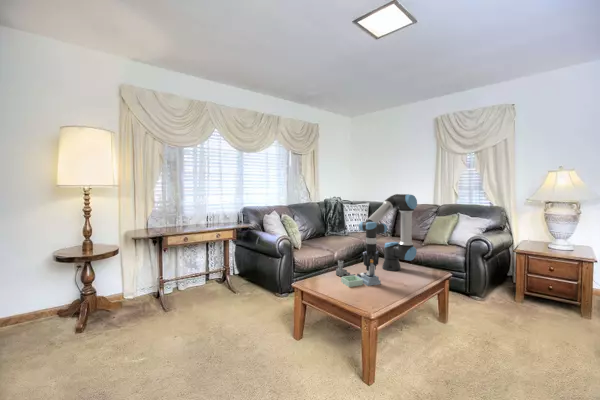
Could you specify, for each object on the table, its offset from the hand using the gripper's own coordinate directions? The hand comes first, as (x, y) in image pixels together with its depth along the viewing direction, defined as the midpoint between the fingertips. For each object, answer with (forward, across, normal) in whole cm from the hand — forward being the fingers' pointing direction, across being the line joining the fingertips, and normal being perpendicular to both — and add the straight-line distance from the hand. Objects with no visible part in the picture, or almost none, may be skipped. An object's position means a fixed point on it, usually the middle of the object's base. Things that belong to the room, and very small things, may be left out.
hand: (371, 274), depth 214 cm
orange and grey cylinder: (+4, 0, 0) cm, 4 cm away
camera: (+7, +10, -22) cm, 25 cm away
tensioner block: (+7, 0, -4) cm, 8 cm away
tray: (+7, +14, -4) cm, 16 cm away
